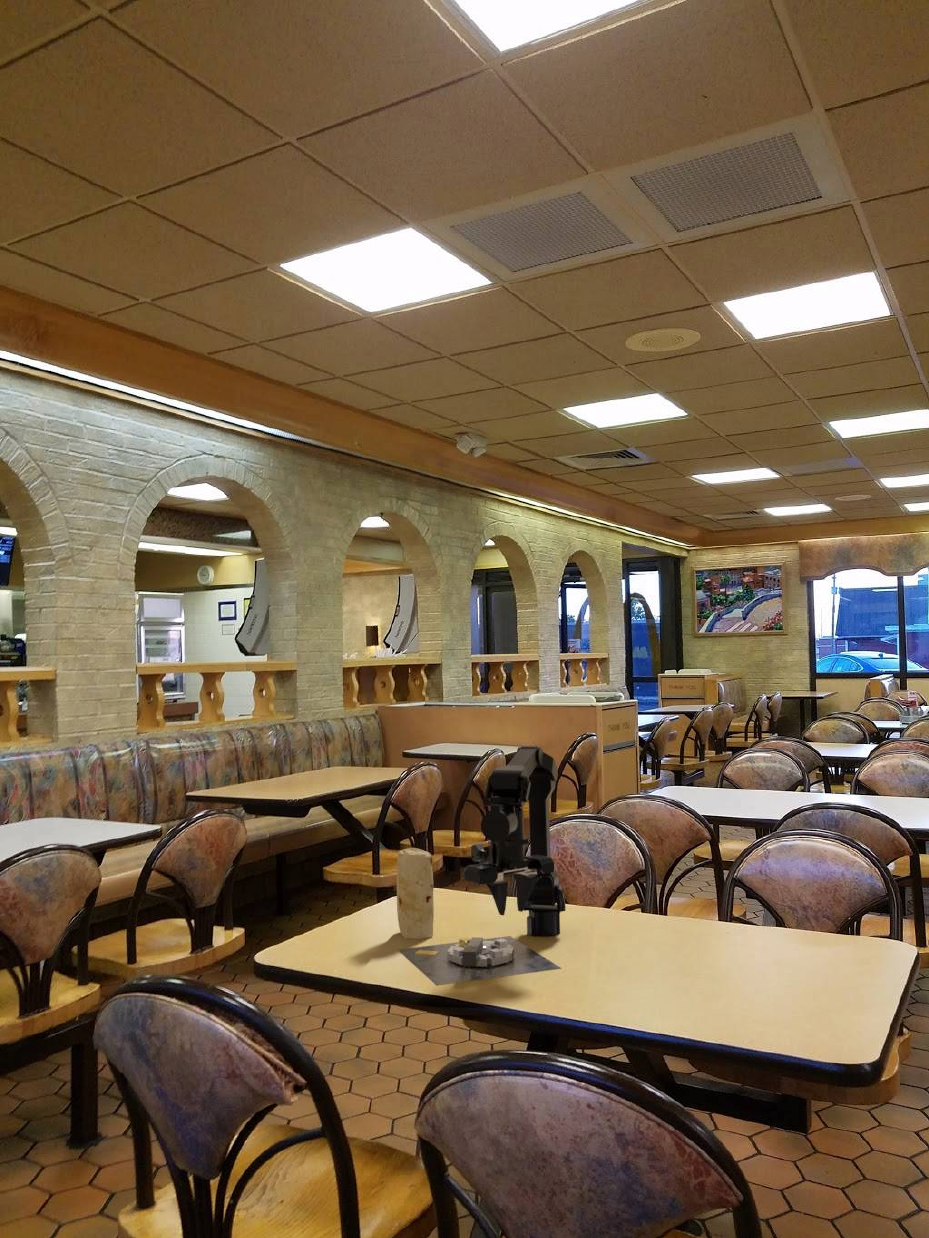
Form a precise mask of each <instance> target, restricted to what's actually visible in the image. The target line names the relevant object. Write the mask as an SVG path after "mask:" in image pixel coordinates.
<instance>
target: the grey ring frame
mask: <svg viewBox="0 0 929 1238" xmlns="http://www.w3.org/2000/svg"><path fill="white" fill-rule="evenodd" d="M483 939H484V937H473V936H472V937H471V938H469V937H463V938H459V941H458V942H459V944H454V946H451V947H450V948H449V950H448V951H447V959H448V960H450V961H452V962H455V963H457V964H460V965H463V966H487V965H490V966H494V965H498V964H502V963H507V962H509V961H512V958H513V956H514V947H513V946H511V945H508V940H505V939H502V938H501V939H497V940H494V941H483ZM483 943H486V944H490V945H491V947H492V949H491V950H489V954H488V955H481V953H482V952H483Z"/></svg>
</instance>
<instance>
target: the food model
mask: <svg viewBox="0 0 929 1238" xmlns="http://www.w3.org/2000/svg"><path fill="white" fill-rule="evenodd" d="M432 859H433V858H432V854H431V853H430V852H429V851H425V850H423V849H420V848H418V847H417V848H416V847H408V848H404V849H402V850H401V849H400V850H399V851H398V853H397V866H396V906H397V907H396V908H397V909H396V910H397V911H396V912H397V920H398V921H397V922H398V927H399V931H400V932H399V933H400V934H401V935H402V937H403V938H406V939H414V940H416V939H417V940H418V939H419V940H420V939H430V938H433V936H434V919H435V918H434V916H435V909H434V908H435V906H434V905H435V904H434V875H433V862H432V861H433V860H432Z"/></svg>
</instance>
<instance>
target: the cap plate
mask: <svg viewBox="0 0 929 1238" xmlns="http://www.w3.org/2000/svg"><path fill="white" fill-rule="evenodd" d="M501 938H502V939H505V940H508V945H511V946H513V947H514V956H513V958H512V961H509V962H507V963H502V964H498V965H494V966H490V965H487V966H463V965H460V964H457V963H455V962H452V961H450V960H448V959H447V951H448V950H449V948H450V947H451V946H454V944H459V941H458V942H449V943H441V944H433V945H426V946H425V945H424V946H417V947H409V948H407V947H406V948H401V949H400V948H399V949H398V948H397V951H398V952H399V953H400V954H402V956H404V957H405V958H406V959H407V960H408V961H409V962H410V963H411V964H412V965H414V967H416V968H417V969H418V970H419V971H420V972H421V973H422V974H424V975H425V976H426V978H428V979H429V980H430V981H431V982H432V983H433V984H434V985H435V986H441V985H442V986H443V985H449V984H457V983H465V982H472V981H479V980H480V981H481V980H487V979H492V978H493V979H494V978H501V977H502V978H503V977H510V976H516V975H523V974H524V975H525V974H531V973H539V972H546V971H552V970H553V971H555V970H562V967H560V966H559V965H558V964H556V963H554V962H552V961H551V960H549V959H548V958H546V957H544V956H543V955H541V954H540V953H538V952H537V951H535V950H533V949H532V948H530V947H528V946H526V944H523V943H522V942H520V941H519V940H517V939H516V938H514V937H512V936H511V935H509V936H508V935H507V936H506V935H505V936H499V937H492V938H491V937H490V938H483V941H494V940H497V939H501ZM491 949H492V947H491V945H490V944H486V943H483V952H482V953H481V955H488V954H489V950H491Z"/></svg>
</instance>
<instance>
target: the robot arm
mask: <svg viewBox="0 0 929 1238" xmlns="http://www.w3.org/2000/svg"><path fill="white" fill-rule="evenodd" d="M558 773H559V772H558V765H557V764H556V761H555V758H554V757H553V756H551V755H549V754H547V753H546V752H544V751H543V748H542V747H541V746H540V747H539V746H538V745H522V746H520V747H518V748H517V749H516V754H514V756H513V758H511V760H510V761H509V762H508V764H507V765H504V766H499V767H498V766H497V767H496V768H494V769H493V770H492V772H491V774H490V775H488V779H487V785H486V790H485V795H484V801H483V806H484V807H490V811H489V812H487V813H485V814H484V815H483V817H482V820H481V822H480V831H481V832H482V835H483V836H484V837H485V838H486V839H487V840H489V842H490V845H489V846H484V845H483V843H477V844H472V845H471V846H470V847H471V848H470V855H471V856H470V857H471V860H472V861H473V862H479V863H476V864H470V865H469V864H467V866H466V867H465V869H464V873H463V874H464V881H467V882H472V883H474V884H479V885H486V886H487V888H488V889H489V891H490V893H491V895H492V898H493V900H494V903H495V906H496V909H497V911H498V914H499V915H500V916H504V915H505V913H506V907H507V897H508V888H509V881H506V880H504V876H506V875H513V878H514V880H515V882H516V902H517V903H516V905H517V911H518V912H520V913H522V912H523V911H525V912H526V911H528V916H527V917H526V932H527V933H526V934H527V935H528V936H529V937H532V938H533V937H536V938H537V937H539V938H540V937H543V938H544V937H545V938H546V937H547V938H548V937H550V938H551V937H555V936H557V935H560V934H561V922H560V921H561V917H560V916H561V915H560V913H562V912H566V899H565V898H566V897H565V894H564V891H563V889H562V885H561V884H560V881H559V874H558V873H557V871H556V868H555V867H556V866H555V861H554V860H553V858H552V856H551V854H552V853H551V829H550V828H551V826H550V798H551V795H552V793H553V792H554V790H555V788H556V782H557V780H558V776H559V775H558ZM527 802H528V818H529V819H528V824H529V825H528V826H529V827H528V828H529V838H526V837H525V825H524V823H525V821H524V806H525V804H526V803H527ZM525 845H529V849H530V850H529V851H530V852H529V853H530V855H525Z"/></svg>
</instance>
